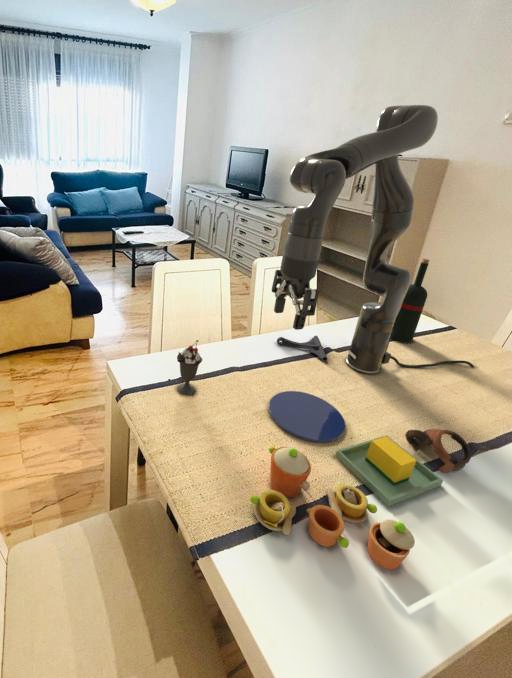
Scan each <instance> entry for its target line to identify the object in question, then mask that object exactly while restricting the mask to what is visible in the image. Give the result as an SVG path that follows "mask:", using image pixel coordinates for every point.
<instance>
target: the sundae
mask: <svg viewBox="0 0 512 678" xmlns="http://www.w3.org/2000/svg"><path fill="white" fill-rule="evenodd" d="M199 341H200V340H199V339H198V340H197V339H196V340H195V342H194V344H195V347H194V344H192V345H189V346H188V347H185V349H184V350H182V352H179V351H178V354H177V356H176V360H177V362H178V363H179V372H180V376H181V378H182V379H183V380H184V381H185V382H184V383H182V384H179V385H178V386H177V389H176V390H177V392H178V393H179V394H181V396H188V397H189V396H192V395H194V394H195V393H196V388H195V387H194V386H193V385H192V384H190V381H192V380H194V379H195V378H196V375H197V373H198V369H199V365H200V364H201V363H202V362H203V358H202V356H201V354H200V353H199V352H198V351H199V348H198V347H197V346H198V345H197V344H198V342H199Z"/></svg>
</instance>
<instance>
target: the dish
mask: <svg viewBox="0 0 512 678" xmlns="http://www.w3.org/2000/svg"><path fill="white" fill-rule="evenodd" d="M386 436H387V437H388V438H389V439H390V440H392V441H393V442H394V443H396V444H397V445H398V446H399V447H401V448H402V449H403V450H404V451H406V452H407V453H408V454H409V455H411V456H412V457H413V458H414V459H416V460H417V461H416V463H415V466H414V468H413V471H412V473H411V475H410V478H409V480H408V481H405V482H403V483H400V484H397V485H395V486H393V485H392V484H391V483H390V482H389V481H388V480H386V479H385V478H384V477H383V476H382V475H381V474H380V473H379V472H378V471H376V470H375V469H374V468H373V467H372V466H371V465H370V464H369V463H368V462H367V461H365V459H366V456H367V453H368V450H369V447H370V444H371V442H372V441H373V440H376V439H379V438H382V437H386ZM334 457H336V458H337V459H338V460H339V461H340V462H341V463H342V464H343V465H344V466H345V468H347V469H348V470H349V471H350V472H351V473H352V474H353V475H354V476H355V477H356V478H357V479H358V480H359V481H360V482H361V483H362V484H363V485H364V486H366V488H368V490H370V491H371V492H372V493H373V494H374V495H375V496H376V497H377V498H378V499H379V500H380V501H381V502H382V503H383V504H384V505H385V506H386V507H387V508H389V507H392V506H394V505H397V504H398V503H402V502H404V501H407V500H409V499H412V498H414V497H417V496H418V495H421V494H424V493H427V492H429V491H432V490H434V489H437V488H439V487H441V486H442V484H443V481H444V479H442V478H441V477H440V476H439V475H437V474H436V473H435V472H434V471H432V470H431V469H430V468H428V467H427V466H426V465H425V464H424V463H422V462H421V461H420V460H419V459H417V458H416V457H415V456H414V455H413V454H411V453H410V452H408V451H407V450H406V449H404V448H403V447H402V446H401V445H400V444H399V443H397V442H396V441H395V440H393V439H392V438H391V437H389V435H387V434H386V435H382V436H380V437H376V438H373V439H370V440H367V441H362V442H359V443H356V444H353V445H350V446H347V447H344V448H343V447H342V448H341V449H336V452H335V456H334Z"/></svg>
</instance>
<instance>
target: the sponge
mask: <svg viewBox="0 0 512 678" xmlns="http://www.w3.org/2000/svg"><path fill="white" fill-rule="evenodd" d="M385 436H386V435H385ZM387 436H388V435H387ZM387 436H386V437H382V436H381V437H382V438H379V437H378V438H379V439H376V438H375V439H376V440H373V439H372V440H373V441H372V442H371V444H370V447H369V450H368V453H367V456H366V459H365V461H367V462H368V463H369V464H370V465H371V466H372V467H373V468H374V469H375V470H376V471H378V472H379V473H380V474H381V475H382V476H383V477H384V478H385V479H386V480H388V481H389V482H390V483H391V484H392V485H393V486H395V485H397V484H400V483H403V482H405V481H408V480H409V478H410V475H411V473H412V471H413V468H414V466H415V463H416V461H417V460H418V459H417V458H416V459H417V460H416V459H414V458H413V457H414V456H413V455H412V454H411V455H412V456H413V457H412V456H411V455H409V454H410V453H409V452H408V451H407V450H406V451H407V452H408V453H409V454H408V453H407V452H406V451H404V450H405V449H404V448H403V447H402V446H401V447H402V448H403V449H404V450H403V449H402V448H401V447H399V446H400V445H399V444H398V443H397V442H396V443H397V444H398V445H399V446H398V445H397V444H396V443H394V442H395V441H394V440H393V439H392V440H393V441H394V442H393V441H392V440H390V439H389V438H390V437H389V436H388V437H389V438H388V437H387Z"/></svg>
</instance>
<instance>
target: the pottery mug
mask: <svg viewBox="0 0 512 678" xmlns="http://www.w3.org/2000/svg"><path fill="white" fill-rule="evenodd" d="M444 435H449V436H450V438H451V439H452V440H453V441H455V442H456V443H458V444H459V445H460V447H461V453H462V454H463V459H454V460H453V461H452V456H451V454H449V452H447V450H446V449H445V447H444V445H443V443H442V442H443V441H442V438H443V436H444ZM404 436H405V440H406V441H407V443H408V444H409V445H411V446H412V449H413V450H414V451H415V452H418V451H419V450H420V449H421V448H422V447H426V446H427V445H429V444H430V447H431V448H432V450H433V451H434V452H435V454H436V456H438V458H439V460H441V462H443V465H440V466H439V467H438V471H440V472H443V473H450V472H453V473H455V472H458V471H460V470H462V469H464V468H465V467H466V465H467V464H468V463H470V460H471V459H472V453H471V449H470V446H469V444H468V443H467V441H466V440H465V439H464V437H462V436H461V435H459V434H458V433H457V432H456V431H453V430H450V429H442V428H435V427H433V428H428V429H425V430H420V429H409V430H407V431H406V432H405V435H404Z"/></svg>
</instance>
